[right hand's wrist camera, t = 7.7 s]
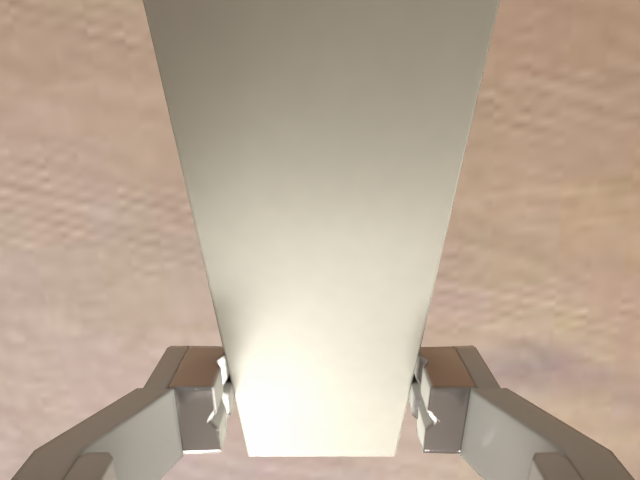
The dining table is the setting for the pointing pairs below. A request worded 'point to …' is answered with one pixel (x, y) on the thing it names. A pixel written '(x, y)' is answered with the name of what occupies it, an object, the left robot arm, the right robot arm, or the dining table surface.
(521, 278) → the dining table surface
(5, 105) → the dining table surface
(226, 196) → the bar
